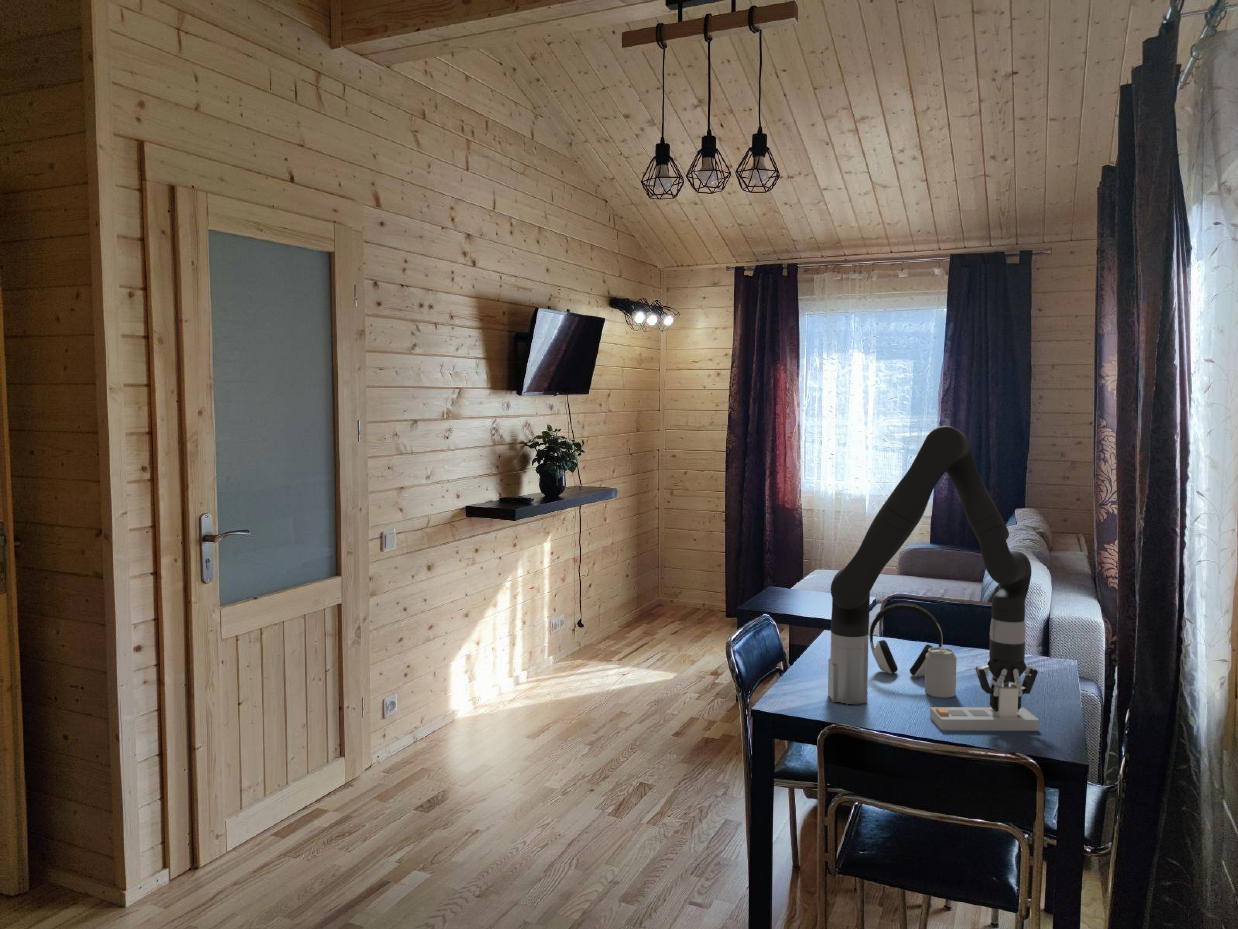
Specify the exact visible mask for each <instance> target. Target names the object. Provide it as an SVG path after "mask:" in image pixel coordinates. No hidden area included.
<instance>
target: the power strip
mask: <svg viewBox="0 0 1238 929" xmlns="http://www.w3.org/2000/svg"><path fill="white" fill-rule="evenodd" d="M929 719H930V720H931V721H932V722H933V723H934V724H935V726H936V727H937V728H938V729H939V730H940V731H986V732H987V731H991V732H992V731H994V732H995V731H997V732H998V731H1002V732H1003V731H1005V732H1007V731H1008V732H1009V731H1010V732H1011V731H1015V732H1017V731H1018V732H1019V731H1020V732H1021V731H1023V732H1024V731H1027V732H1028V731H1032V732H1033V731H1034V732H1038V731H1039V728H1040V727H1039V726H1040V719H1039V718H1037V717H1036V716H1035V715H1033V714H1032V713H1031V712H1030V711H1029V710H1027V708H1025V707H1021V708H1020V709H1019V711H1018V714H1017V718H1010V717H997V716H996V715H995V714H994V713H993V709H992V708H991V707H990V706H989V707H985V706H984V707H983V706H981V707H978V706H977V707H975V706H973V707H971V706H967V707H966V706H965V707H964V706H962V707H961V706H959V707H957V706H954V707H953V706H951V707H950V706H949V707H947V706H946V707H945V706H944V707H943V706H941V707H939V706H938V707H937V706H933V707H931V706H930V707H929Z"/></svg>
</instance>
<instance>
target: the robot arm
mask: <svg viewBox="0 0 1238 929" xmlns="http://www.w3.org/2000/svg"><path fill="white" fill-rule="evenodd" d="M916 454H917V455H916V457H915V458H914V460H913V461H912V463H911V465H910V467H909V469H907V470H908V471H907V472H906V473H905V474H904V476H903V477H902V478H901V480H900V481H899V482H898V483H897V484H896V486H895V487H894V489H893V491H892V492H891V494H890V495H889V496H888V498H887V499H886V500H885V502H884V503H883V504H882V506H881V507H880V509H879V510H878V511H877V513H876V515H875V517H874V519H872V522H871V523H870V525H869V527H868V529H867V531H866V533H865V535H864V538H863V539H862V542H861V543H860V546H859V547H858V550H857V552H856V553H855V554H854V556H853V557H852V558H851V560H850V561H849V562H848V563H847V565H846V566H845V567H844V568H842V569H840V570H839V571H837V573H836V574H835V575H834V577H833V578H832V582H831V585H830V595H831V598H832V599H831V600H832V601H831V617H830V618H831V619H830V658H828V663H827V667H828V670H827V678H828V679H827V695H829V696H830V697H829V696H828V697H829V699H830V698H831V699H832V700H831V699H830V700H831V702H832V701H833V702H841V703H846V704H845V705H848V704H855V705H854V706H857V705H863V704H866V703H867V702H868V695H869V694H868V693H869V691H868V688H869V687H868V685H869V683H868V682H869V681H868V680H869V679H868V678H869V674H868V673H869V633H870V606H871V605H870V604H871V601H870V600H871V598H870V596H871V595H870V594H871V590H872V589H873V587H874V585H875V583H876V581H877V579H878V578H879V576H880V575H881V573H882V571H883V569H884V568H885V566H887V565H888V563H889V561H891V560H892V559H893V557H895V555H896V554H897V553H898V551H899V550H900V549H901V548H902V546H903V545H904V543H905V542H906V541H907V540H908V538H909V537H910V536H911V534H912V533H913V531H914V530H915V529H916V528H917V526H918V524H919V523H920V522H921V519H922V518H923V516H924V513H925V512H926V509H927V506H928V503H929V501H930V498H931V496H932V493H933V492H934V489H935V488H936V485H937V484H938V483H939V481H940V479H941V478H942V477H943V476H944V475H945V474H946V473H947V475H948V477H950V479H951V482H952V483H953V485H954V487H955V489H956V491H957V494H958V497H959V499H960V502H961V505H962V509H963V511H964V514H965V517H966V519H967V521H968V523H969V526H970V528H971V529H972V532H973V534H974V536H975V537H976V539H977V541H978V543H979V547H980V552H981V556H982V559H983V560H982V561H983V563H984V567H985V569H986V572H987V573H988V575H989V577H990V578H991V579H992V580H993V581H994V582H996V583H997V584H999V588H998V590H997V591H996V593H995V594H994V595H993V597H992V600H991V621H990V626H989V653H988V654H989V660H988V662H987V664H986V665H984V666H979V665H977V666H976V667H975V672H976V675H977V678H978V681H979V684H980V687H981V688H980V689H981V690H982V691H984V693H986V694H989V707H991V708H992V709H993V710H994V711H995V712H998V708H999V696H998V695H999V688H1001V687H1002V685H1003V682H1009V683H1011V684H1012V685H1013V686H1015V688H1018V711H1019V709H1020V708H1022V697H1023V695H1025V694H1027V695H1029V694H1030V693H1031V692H1032V689H1033V687H1034V684H1035V682H1036V678H1037V675H1038V673H1039V672H1038V670H1037V669H1036V668H1035V667H1033V666H1028V665H1027V664H1026V662H1025V658H1026V598H1027V596H1028V592H1029V588H1030V583H1031V579H1032V564H1031V560H1030V559H1029V558H1028V556H1027V555H1026V554H1025V553H1023V552H1021V551H1018V550H1011V549H1010V548H1009V545H1008V542H1007V541H1008V538H1009V537H1010V532H1009V529H1008V527H1007V525H1006V522H1005V521H1004V519H1003V517H1002V515H1001V513H1000V512H999V511H1000V510H998V508H997V505H996V504H995V502H994V500H993V499H992V497H991V495H990V492H989V490H987V487H986V485H985V484H984V481H983V479H982V476H981V474H980V472H979V470H978V467H977V464H976V461H975V458H974V455H973V451H972V448H971V445H970V441H969V438H968V437H967V436H966V434H965V433H964V432H962V431H960V429H958V428H955V427H953V426H949V425H941V426H938V427H936V428H934V429H932V430H931V431H930V432H929V433H928V434H927V435H926V438H925V439H924V440H923V443H922V445H921V447H920V448H919V450H918V452H917V453H916ZM1010 550H1011V551H1010ZM989 672H990V673H991V675H992V676H991V680H990V684H989V680H988V678H987V677H988V675H989ZM1023 674H1024V675H1025V676H1024V678H1023V681H1022V683H1021V678H1020V677H1021V676H1022V675H1023ZM833 702H832V703H833ZM841 703H840V704H841Z"/></svg>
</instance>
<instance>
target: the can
mask: <svg viewBox="0 0 1238 929" xmlns="http://www.w3.org/2000/svg"><path fill="white" fill-rule="evenodd" d="M928 651H929V652H928V653H927V654H926V662H925V676H924V692H925V693H926V694H927V695H928V696H930V697H933V698H938V699H951V698H953V697H955V696H956V695H957V694H956V692H957V656H956V655H955V650H953V649H952V648H949V647H943V646H942V647H939V646H933V647H932V648H929V649H928Z"/></svg>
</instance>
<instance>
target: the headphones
mask: <svg viewBox="0 0 1238 929" xmlns="http://www.w3.org/2000/svg"><path fill="white" fill-rule="evenodd" d="M903 611H904V612H912V613H915V614H917V615H919V616H921V617H923V618H924V619H926V620H927V621H928V622H929V623H930V624H931V625H932V627H933V628H934V629H935V631H936V632H935V633H936V634H937V637H938V647H943V642H944V641H943V633H942V628H941V627H940V624H939V623H938V620H937V619H936V617H935V616H934V615H933V614H932V613H930V612H929V611H928V610H927V609H925V608H924V607H921V606H920V605H918V604H915V603H909V602H899V603H892V604H891V605H888V606H886V607H885V608H882V609H880V611H878V613H876V615H875V616H874V617H875V618H873V620H872V622H871V624H870V626H869V633H868V634H869V635H868V639H869V643H870V650H871V652H872V655H873V657H874V659H875V662H876V664H877V666H878V668H879V670H880V671H881V672H885V673H888V674H890V675H893V674H894V675H895V673H897V672H898V670H899V669H898V665H897V662H896V660H895V659H894V655H893V654H892V651H891V649H890V646H889V644H888V642H887V640H884V639H882V640H878V641H877V642H876V645H875V644H874V631H875V628H876V627H877V625H878V623H879V622H880V621H881V620H882V618H884V617H885V616H888V615H890V614H892V613H895V612H903ZM932 647H934V645H931V644H928V643H927V644H925V645H924V647H923V648H922V651H921V652H920V653H919V655H918V657H917V659H916V660H915V661H914V663H913V664H912V665H911V666H910V669H909V673H910V674H911V676H913V677H914V678H918V677H925V662H926V654H927V653H928V652H929V651H928V649H929V648H932Z"/></svg>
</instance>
